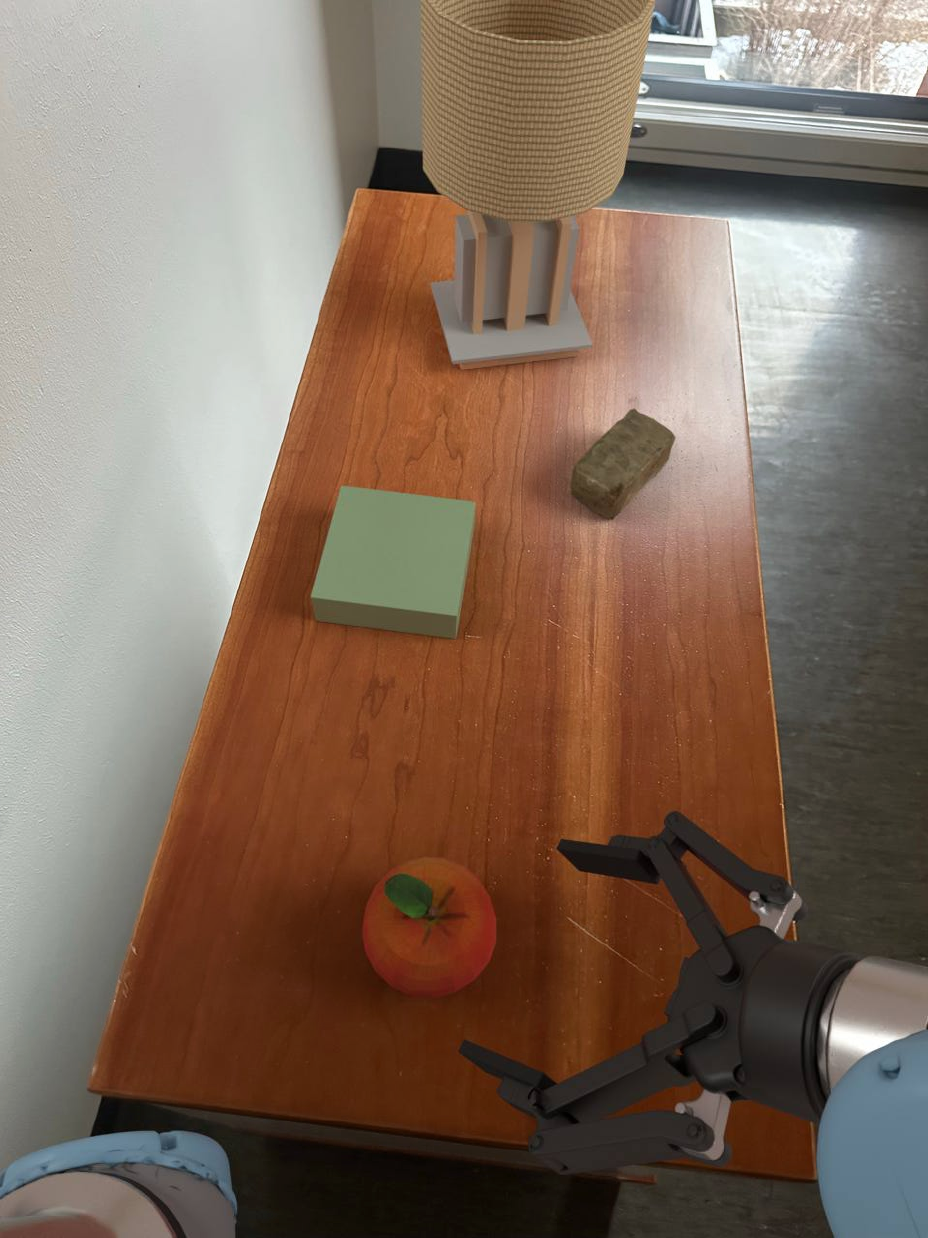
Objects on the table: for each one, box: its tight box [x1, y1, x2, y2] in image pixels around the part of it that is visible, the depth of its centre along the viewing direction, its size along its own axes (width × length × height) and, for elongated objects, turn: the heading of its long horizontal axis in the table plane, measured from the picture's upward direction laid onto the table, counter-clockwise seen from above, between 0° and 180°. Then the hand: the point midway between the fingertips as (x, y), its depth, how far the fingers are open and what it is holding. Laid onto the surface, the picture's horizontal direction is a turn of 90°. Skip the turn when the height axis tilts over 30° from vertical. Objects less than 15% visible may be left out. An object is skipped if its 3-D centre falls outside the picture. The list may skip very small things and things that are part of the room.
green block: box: [310, 485, 477, 640], centre depth 83 cm, size 13×13×4 cm
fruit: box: [361, 855, 497, 999], centre depth 63 cm, size 10×10×10 cm
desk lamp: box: [420, 0, 657, 371], centre depth 89 cm, size 20×20×35 cm
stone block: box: [570, 408, 677, 521], centre depth 90 cm, size 6×12×5 cm, turn 141°
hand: (524, 949), depth 56 cm, fingers open, 13 cm apart
